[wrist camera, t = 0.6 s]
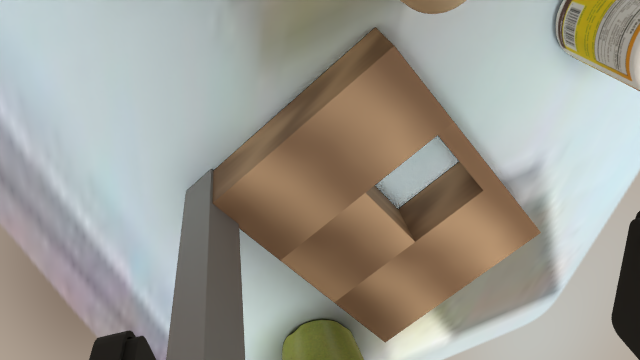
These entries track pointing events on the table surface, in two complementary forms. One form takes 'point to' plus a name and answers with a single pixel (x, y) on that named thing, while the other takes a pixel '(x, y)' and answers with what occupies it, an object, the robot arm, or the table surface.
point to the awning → (207, 282)
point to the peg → (433, 5)
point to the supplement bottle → (603, 36)
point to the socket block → (370, 193)
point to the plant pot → (321, 343)
